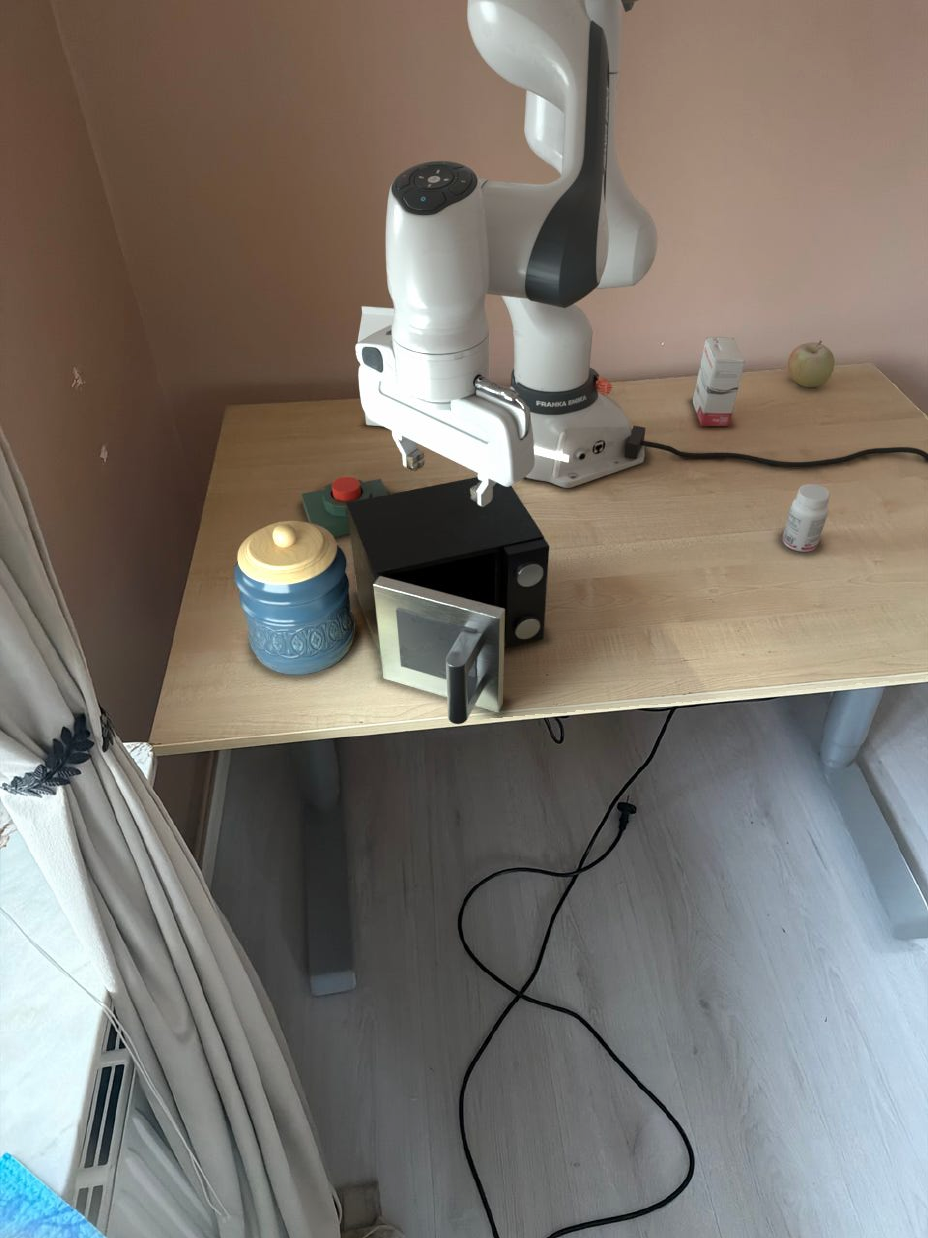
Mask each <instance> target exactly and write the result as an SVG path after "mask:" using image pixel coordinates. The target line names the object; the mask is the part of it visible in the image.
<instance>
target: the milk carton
mask: <svg viewBox="0 0 928 1238" xmlns="http://www.w3.org/2000/svg"><path fill="white" fill-rule="evenodd" d="M393 317H394V307H382V306H381V307H380V306H369V305H368V306H366V305H362V306H361V319H360V323H359V324H360V325H359V330H358V336H357V343H358V342H360V341H361V340H363V339H364V338H366V337H368V336H370V335H371V334H373V333H375V332H377V331H379V330H381V329H383V328H385V327H388V326H390V325H392V322H393ZM360 365H361V363H360V362H359V366H360ZM364 416H365V417H364V418H365V425H367V426H374V427H383V426H382V425H380V424H378V423H376V422H373V421H371V420H370V419H369V418H368V416H367V415H366V413H365V412H364Z"/></svg>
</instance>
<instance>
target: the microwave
mask: <svg viewBox="0 0 928 1238" xmlns="http://www.w3.org/2000/svg"><path fill="white" fill-rule="evenodd" d="M480 481H481V480H479V479H478V476H475V477H469V478H465V479H459V480H454V481H449V482H444V483H439V484H434V485H429V486H424V487H418V488H413V489H408V490H404V491H398V492H394V493H393V492H392V493H388V495H383V496H377V497H372V498H367V499H362V500H357V501H352V502H347V503H346V506H347V514H348V522H349V530H350V534H349V537H350V546H351V553H352V554H351V555H352V562H353V570H354V576H355V586H356V593H357V598H358V600H359V605H360V607H361V609H362V612H363V615H364V617H365V620H366V622H367V625H368V627H369V631H370V633H371V637H372V640H373V643H374V644H375V647H376V650H377V653H378V655H379V658H380V661H381V662H382V660H381V651H380V642H379V633H378V623H377V614H376V605H375V596H374V587H373V584H374V583H375V582H376V580H377V579H378V578H379V576H382V577H386V578H390V579H394V580H397V581H401V582H405V583H409V584H413V585H416V586H420V587H424V588H428V589H432V590H435V591H439V592H443V593H447V594H450V595H454V596H458V597H462V598H466V599H469V600H473V601H477V602H481V603H485V604H488V605H492V606H496V607H500V608H503V609H505V628H504V648H505V649H506V648H511V647H515V646H518V645H519V646H520V645H523V644H527V643H531V642H535V641H539V640H540V641H541V640H543V639H544V636H545V635H544V634H545V623H546V621H545V620H546V607H547V606H546V605H547V589H548V574H549V573H548V572H549V559H550V545H549V543H548V541H547V539H546V538H545V536H544V534H543V533H542V531H541V529H540V527H539V526H538V525H537V523H536V521H535V520H534V519H533V517H532V515H531V513H530V512H529V511H528V509H527V507H526V506H525V504H524V502H523V501H522V499H521V498H520V496H519V495H518V494H517V492H516V490H515V489H514V488H513V485H511V486H509V487H506V486H503V485H501V484H499V483H496V484H495V485H494V486H493V498H492V500H491V502H490V503H488V504H487V505H485V506H484V507H482V506H480V505H478V504H476V503H474V502H472V501H471V500H470V497H471V494H470V488H472V487H473V486H475V485H477V484H478V483H479V482H480Z"/></svg>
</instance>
